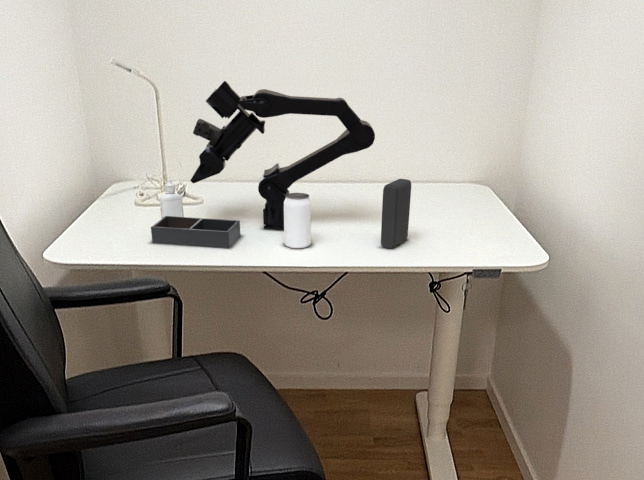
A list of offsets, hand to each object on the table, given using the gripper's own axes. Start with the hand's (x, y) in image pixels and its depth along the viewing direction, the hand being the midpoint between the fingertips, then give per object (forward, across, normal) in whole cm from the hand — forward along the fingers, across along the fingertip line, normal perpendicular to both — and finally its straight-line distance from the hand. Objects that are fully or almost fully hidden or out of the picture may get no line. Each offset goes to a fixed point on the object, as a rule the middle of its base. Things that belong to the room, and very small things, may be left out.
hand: (194, 177), depth 187 cm
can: (-10, +15, +28) cm, 33 cm away
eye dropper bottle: (+14, 0, +4) cm, 14 cm away
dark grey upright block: (-27, +13, +44) cm, 53 cm away
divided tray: (+8, +12, +10) cm, 17 cm away
